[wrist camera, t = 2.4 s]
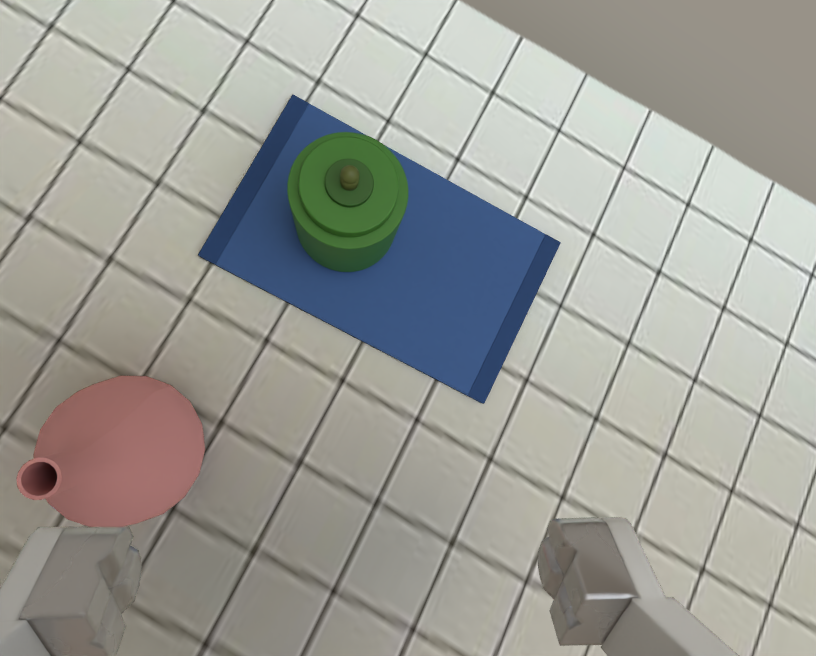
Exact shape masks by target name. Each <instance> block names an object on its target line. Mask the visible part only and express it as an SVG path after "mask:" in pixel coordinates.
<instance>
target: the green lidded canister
mask: <svg viewBox="0 0 816 656" xmlns="http://www.w3.org/2000/svg"><path fill="white" fill-rule="evenodd" d="M287 193H288V200H289V204H290V208H291V212H292V216H293V219H294V223H295V227H296V231H297V235H298V238H299V240H300V243H301V245H302V247H303V248H304V250H305V251H306V252H307V254H308V255H309V256H310V257H311V258H312V259H313V260H315V261H316V262H317V263H319V264H320V265H322V266H324V267H326V268H328V269H331V270H335V271H340V272H355V271H360V270H363V269H366V268H368V267H370V266H372V265H374V264H375V263H377V262H378V261H379V260H380V259H381V258H383V257H384V255H385V254H386V253H387V252H388V250H389V248H390V247H391V244H392V242H393V240H394V237H395V235H396V233H397V230H398V228H399V226H400V223H401V221H402V218H403V216H404V214H405V211H406V208H407V203H408V182H407V178H406V175H405V172H404V169H403V167H402V165H401V164H400V162H399V160H398V159H397V158H396V156H395V155H394V154H393V153H392V152H391V151H390V150H389V149H388V148H387V147H386V146H385V145H383V144H382V143H380V142H379V141H377V140H375V139H373V138H371V137H369V136H366V135H363V134H359V133H353V132H338V133H332V134H329V135H325V136H323V137H320V138H318V139H316V140H315V141H313V142H312V143H310V144H309V145H308V146H306V147H305V148H304V149H303V150H302V151H301V152H300V154H299V155H298V156H297V158H296V159H295V161H294V163H293V165H292V167H291V170H290V173H289V177H288V183H287Z"/></svg>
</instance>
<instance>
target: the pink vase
mask: <svg viewBox="0 0 816 656" xmlns="http://www.w3.org/2000/svg"><path fill="white" fill-rule="evenodd" d="M204 452H205V444H204V436H203V428H202V423H201V421H200V419H199V417H198V415H197V414H196V412H195V410H194V408H193V406H192V404H191V402H190V401H189V400H188V399H186V398H185V397H184V396H183V395H182V394H181V393H179V392H178V391H177V390H176V389H175V388H174V387H172V386H171V385H169V384H166V383H164V382H161V381H158V380H156V379H153V378H150V377H148V376H118V377H115V378H111V379H108V380H105V381H102V382H99V383H96V384H93V385H91V386H89V387H86V388H84V389H82V390H80V391H78V392H76V393H75V394H74V395H72V396H71V397H69V398H68V399H67V400H65V401H64V402H63V403H61V404H60V405H58V406H57V407H56V408H55V409H54V411H53V412H52V413H51V415H50V416H49V418H48V419H47V421H46V422H45V423H44V425H43V426H42V428H41V429H40V432H39V436H38V440H37V443H36V447H35V451H34V454H33V456H34V459H32V460H29V461H28V462H26V463H25V464H24V465H23V466H22V467H21V469H20V470H19V472H18V475H17V487H18V489H19V490H20V492H21V493H22V494H23V495H24V496H25V497H27V498H29V499H32V500H42V499H45V498H46V500H47V502H48V503H49V504H50V505H51V506H52V507H54V508H55V509H56V510H57V511H58V512H60V513H61V514H62V515H63V516H64V517H65V518H67V519H68V520H71V521H74V522H77V523H80V524H83V525H86V526H89V527H121V526H127V525H132V524H137V523H140V522H142V521H145V520H148V519H151V518H153V517H156V516H159V515H162V514H164V513H165V512H166V511H167V510H169V509H170V508H171V507H173V506H174V505H175V504H176V503H178V502H179V501H180V500H181V499H183V498H184V497H185V496H186V494H187V492H188V491H189V489H190V488H191V486H192V485H193V483H194V482H195V480H196V478H197V477H198V475H199V473H200V469H201V464H202V460H203V456H204Z"/></svg>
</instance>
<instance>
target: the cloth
mask: <svg viewBox="0 0 816 656" xmlns="http://www.w3.org/2000/svg"><path fill="white" fill-rule="evenodd" d="M338 132H353V133H359V134H363V133H361V132H359V131H358V130H356V129H354V128H352V127H350V126H349V125H347V124H345V123H343V122H341V121H340V120H338V119H336V118H334V117H332V116H331V115H329V114H327V113H325V112H323V111H321V110H320V109H318V108H316V107H314V106H312V105H311V104H309V103H308V102H306V101H304V100H302V99H300V98H298V97H297V96H295V95H292V96H291V98H290V100H289V101H288V103H287V105H286V106H285V108H284V110H283V112H282V113H281V115H280V117H279V118H278V120H277V122H276V123H275V125H274V127H273V128H272V130H271V132H270V134H269V135H268V137H267V139H266V140H265V142H264V144H263V145H262V147H261V149H260V151H259V152H258V154H257V156H256V157H255V159H254V161H253V162H252V164H251V166H250V167H249V169H248V171H247V173H246V174H245V176H244V178H243V179H242V181H241V183H240V184H239V186H238V188H237V190H236V191H235V193H234V195H233V196H232V198H231V200H230V201H229V203H228V205H227V206H226V208H225V210H224V212H223V213H222V215H221V217H220V218H219V220H218V222H217V223H216V225H215V227H214V229H213V230H212V232H211V234H210V235H209V237H208V239H207V240H206V242H205V244H204V245H203V247H202V249H201V251H200V252H199V254H198V256H199V257H201V258H203V259H205V260H207V261H209V262H211V263H213V264H215V265H217V266H218V267H220V268H222V269H224V270H226V271H228V272H230V273H232V274H234V275H236V276H238V277H240V278H242V279H243V280H245V281H247V282H249V283H251V284H253V285H255V286H257V287H259V288H261V289H263V290H265V291H267V292H269V293H270V294H272V295H274V296H276V297H278V298H280V299H282V300H284V301H286V302H288V303H290V304H292V305H294V306H295V307H297V308H299V309H301V310H303V311H305V312H307V313H309V314H311V315H313V316H315V317H317V318H319V319H321V320H322V321H324V322H326V323H328V324H330V325H332V326H334V327H336V328H338V329H340V330H342V331H344V332H346V333H347V334H349V335H351V336H353V337H355V338H357V339H359V340H361V341H363V342H365V343H367V344H369V345H371V346H373V347H374V348H376V349H378V350H380V351H382V352H384V353H386V354H388V355H390V356H392V357H394V358H396V359H398V360H399V361H401V362H403V363H405V364H407V365H409V366H411V367H413V368H415V369H417V370H419V371H421V372H423V373H425V374H426V375H428V376H430V377H432V378H434V379H436V380H438V381H440V382H442V383H444V384H446V385H448V386H450V387H451V388H453V389H455V390H457V391H459V392H461V393H463V394H465V395H467V396H469V397H471V398H473V399H475V400H477V401H478V402H480V403H483V404H484V403H485V401H486V399H487V396H488V394H489V392H490V390H491V388H492V386H493V384H494V382H495V380H496V378H497V375H498V373H499V371H500V369H501V367H502V365H503V363H504V361H505V359H506V357H507V354H508V352H509V350H510V348H511V346H512V344H513V342H514V340H515V338H516V335H517V333H518V331H519V329H520V327H521V325H522V323H523V321H524V319H525V317H526V314H527V312H528V310H529V308H530V306H531V304H532V302H533V300H534V298H535V296H536V293H537V291H538V289H539V287H540V285H541V283H542V281H543V279H544V277H545V275H546V272H547V270H548V268H549V266H550V264H551V262H552V260H553V258H554V256H555V254H556V251H557V249H558V247H559V245H560V242H559V241H557V240H555V239H553V238H552V237H550V236H548V235H546V234H544V233H542V232H540V231H538V230H537V229H535V228H533V227H531V226H529V225H528V224H526V223H524V222H522V221H520V220H519V219H517V218H515V217H513V216H511V215H510V214H508V213H506V212H504V211H502V210H501V209H499V208H497V207H495V206H493V205H491V204H490V203H488V202H486V201H484V200H482V199H481V198H479V197H477V196H475V195H473V194H472V193H470V192H468V191H466V190H464V189H463V188H461V187H459V186H457V185H455V184H453V183H452V182H450V181H448V180H446V179H444V178H443V177H441V176H439V175H437V174H435V173H434V172H432V171H430V170H428V169H426V168H425V167H423V166H421V165H419V164H417V163H416V162H414V161H412V160H410V159H408V158H406V157H405V156H403V155H401V154H399V153H397V152H396V151H394V150H392V149H390V148H388V147H387V146H386V147H387V148H388V149H389V150H390V151H391V152H392V153H393V154H394V155H395V156H396V158H397V159H398V160H399V162H400V164H401V165H402V167H403V169H404V172H405V175H406V178H407V182H408V203H407V208H406V211H405V214H404V216H403V218H402V221H401V223H400V226H399V228H398V230H397V233H396V235H395V237H394V240H393V242H392V244H391V247H390V248H389V250H388V252H387V253H386V254H385V255H384V257H383V258H381V259H380V260H379V261H378V262H377V263H375V264H374V265H372V266H370V267H368V268H366V269H363V270H360V271H355V272H340V271H335V270H331V269H328V268H326V267H324V266H322V265H320V264H319V263H317V262H316V261H315V260H313V259H312V258H311V257H310V256H309V255H308V254H307V252H306V251H305V250H304V248H303V247H302V245H301V243H300V240H299V238H298V235H297V231H296V227H295V223H294V219H293V216H292V212H291V208H290V204H289V200H288V193H287V183H288V177H289V173H290V170H291V167H292V165H293V163H294V161H295V159H296V158H297V156H298V155H299V154H300V152H301V151H302V150H303V149H304V148H305V147H306V146H308V145H309V144H310V143H312V142H313V141H315V140H316V139H318V138H320V137H323V136H325V135H329V134H332V133H338ZM363 135H365V134H363ZM366 136H367V135H366Z"/></svg>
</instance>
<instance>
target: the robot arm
mask: <svg viewBox="0 0 816 656" xmlns="http://www.w3.org/2000/svg"><path fill="white" fill-rule="evenodd" d="M547 531H548V534H549V537H548V538H546V539H545V540H543V541H542V542H541V545H540V548H539V551H538V568H539V575H540V579H541V583H542V586H543V589H544V590H545V591H546V592H547V593H548V594H549V595H550V596H551V597H552V598H553V599H554V600H553V603H552V605H551V608H550V614H551V618H552V621H553V624H554V628H555V631H556V635H557V638H558V641H559V645H560V646H565V645H602V646H601V648H602V649H603V651H604V652H605V653H606V654H607V656H739V655H738V654H737V653H735V652H734V651H733V650H732V649H731V648H730V647H729V646H728V645H726V644H725V643H724V642H723V641H722V640H721V639H720V638H719V637H717V636H716V635H715V634H714V633H713V632H712V631H711V630H710V629H708V628H707V627H706V626H705V625H704V624H703V623H702V622H701V621H699V620H698V619H697V618H696V617H695V616H694V615H693V614H692V613H690V612H689V611H688V610H687V609H686V608H685V607H684V606H683V605H681V604H680V603H679V602H678V601H677V600H676V599H675V598H674V597H666V596H665V594H664V592H663V590H662V588H661V585H660V583H659V581H658V579H657V577H656V575H655V573H654V571H653V569H652V567H651V565H650V562H649V560H648V558H647V556H646V554H645V552H644V550H643V548H642V546H641V544H640V541H639V539H638V537H637V535H636V533H635V531H634V529H633V527H632V525H631V523H630V522H629V521H628V520H627V519H626V518H623V517H610V518H599V517H591V518H563V519H553V520H551V521H550V523H549V525H548V527H547ZM132 539H133V535H132V532H131V530H130V528H129V526H121V527H38V528H37V529H36V530H35V531H34V532H33V533H32V534H31V535H30V536H29V537H28V539H27V540H26V542H25V544H24V546H23V548H22V550H21V551H20V553H19V555H18V557H17V559H16V560H15V562H14V564H13V566H12V568H11V569H10V571H9V573H8V575H7V577H6V578H5V580H4V582H3V584H2V586H1V588H0V656H116V654H117V651H118V648H119V645H120V642H121V639H122V636H123V633H124V630H125V628H126V626H125V623H124V620H123V618H122V615H121V614H122V613H123V612H124V611H125V610H126V609H127V608H128V607H129V606H130V605H131V604H132V603H133V602H134V601H135V598H136V594H137V591H138V588H139V584H140V578H141V571H142V564H141V556H140V553H139V550H137V549H136V548H134V547H132V546H131V545H130V544H131V542H132Z"/></svg>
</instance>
